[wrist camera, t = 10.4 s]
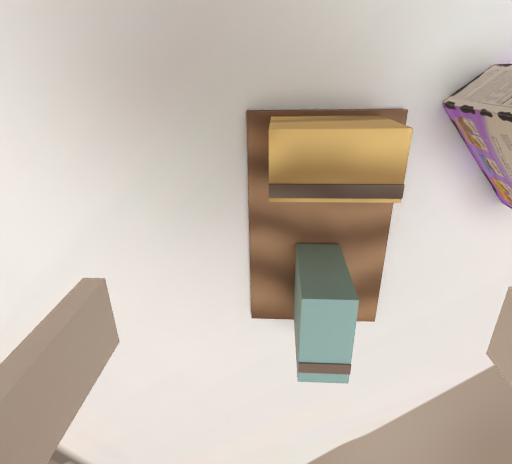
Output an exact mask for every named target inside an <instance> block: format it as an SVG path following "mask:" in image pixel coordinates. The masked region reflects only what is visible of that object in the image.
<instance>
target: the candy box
mask: <svg viewBox="0 0 512 464" xmlns="http://www.w3.org/2000/svg"><path fill="white" fill-rule="evenodd" d="M443 107H444V108H445V110H446V112H447V114H448V115H449V117H450V119H451V120H452V122H453V123H454V125H455V126H456V128H457V130H458V131H459V134H460V135H461V137H462V138H463V140H464V141H465V143H466V144H467V146H468V148H469V149H470V151H471V153H472V155H473V156H474V158H475V159H476V161H477V162H478V164H479V166H480V167H481V169H482V171H483V172H484V174H485V175H486V177H487V178H488V180H489V182H490V183H491V185H492V186H493V188H494V190H495V192H496V193H497V195H498V197H499V198H500V200H501V202H502V203H503V204H505V205H506V206H508V207H510V208H512V64H499V65H498V64H497V65H494V66H492V67H491V68H489V69H488V70H486V71H485V72H483V73H482V74H481V75H479V76H478V77H476V78H475V79H474V80H473V81H471V82H470V83H468V84H467V85H466V86H464V87H463V88H461V89H460V90H458V91H457V92H455V93H454V94H453V95H451V96H450V97H449V98H447V99H446V100H445V101H443Z"/></svg>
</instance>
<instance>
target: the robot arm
mask: <svg viewBox="0 0 512 464" xmlns="http://www.w3.org/2000/svg"><path fill="white" fill-rule="evenodd" d="M118 343H119V338H118V334H117V329H116V325H115V320H114V316H113V311H112V307H111V303H110V298H109V294H108V289H107V285H106V281H105V278H83V279H82V280H81V281H80V282H79V283H78V284H77V285H76V286H75V287H74V288H73V289H72V290H71V291H70V292H69V293H68V294H67V295H66V296H65V297H64V298H63V299H62V300H61V302H60V303H59V304H58V305H57V306H56V307H55V308H54V309H53V310H52V311H51V312H50V313H49V314H48V315H47V316H46V317H45V318H44V319H43V320H42V321H41V322H40V323H39V324H38V325H37V327H36V328H35V329H34V330H33V331H32V332H31V333H30V334H29V335H28V336H27V337H26V338H25V339H24V340H23V341H22V342H21V343H20V344H19V345H18V346H17V347H16V348H15V349H14V350H13V352H12V353H11V354H10V355H9V356H8V357H7V358H6V359H5V360H4V361H3V362H2V363H1V364H0V464H47V462H48V461H49V459H50V457H51V456H52V454H53V452H54V451H55V449H56V447H57V446H58V444H59V442H60V441H61V439H62V437H63V436H64V434H65V432H66V431H67V429H68V427H69V426H70V424H71V422H72V421H73V419H74V417H75V416H76V414H77V412H78V410H79V409H80V407H81V405H82V404H83V402H84V400H85V399H86V397H87V395H88V394H89V392H90V390H91V389H92V387H93V385H94V384H95V382H96V380H97V379H98V377H99V375H100V374H101V372H102V370H103V369H104V367H105V365H106V363H107V362H108V360H109V358H110V357H111V355H112V353H113V352H114V350H115V348H116V347H117V345H118ZM486 354H487V355H488V357H489V358H490V359H491V361H492V362H493V363H494V365H495V366H496V368H497V369H498V370H499V372H500V373H501V374H502V376H503V377H504V378H505V380H506V381H507V382H508V384H509V385H510V386H511V388H512V287H509V288H508V291H507V294H506V297H505V300H504V303H503V305H502V308H501V311H500V314H499V317H498V320H497V323H496V326H495V329H494V332H493V335H492V338H491V341H490V344H489V347H488V350H487V353H486Z"/></svg>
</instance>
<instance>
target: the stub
mask: <svg viewBox="0 0 512 464" xmlns="http://www.w3.org/2000/svg"><path fill="white" fill-rule="evenodd" d="M358 305H359V299H358V296H357V293H356V290H355V287H354V284H353V282H352V279H351V276H350V273H349V270H348V267H347V265H346V262H345V259H344V256H343V253H342V250H341V248H340V245H339V244H296V264H295V290H294V327H295V343H296V360H297V376H298V381H299V382H325V383H348V381H349V375H350V371H351V358H352V351H353V343H354V335H355V328H356V320H357V312H358Z"/></svg>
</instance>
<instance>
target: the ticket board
mask: <svg viewBox="0 0 512 464" xmlns="http://www.w3.org/2000/svg"><path fill="white" fill-rule="evenodd" d="M407 113H408V110H406V109H337V110H247V150H248V191H249V232H250V273H251V314H252V318H263V319H294V290H295V264H296V244H339V245H340V248H341V250H342V253H343V256H344V259H345V262H346V265H347V267H348V270H349V273H350V276H351V279H352V282H353V284H354V287H355V290H356V293H357V296H358V299H359V305H358V312H357V320H356V321H374V322H375V316H376V309H377V303H378V297H379V290H380V284H381V278H382V271H383V265H384V259H385V252H386V246H387V240H388V233H389V227H390V221H391V214H392V208H393V203H401V199H402V197H403V191H404V179H405V173H406V167H407V161H408V155H409V149H410V143H411V137H412V131H413V128H411V127H408V126H406V119H407Z"/></svg>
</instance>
